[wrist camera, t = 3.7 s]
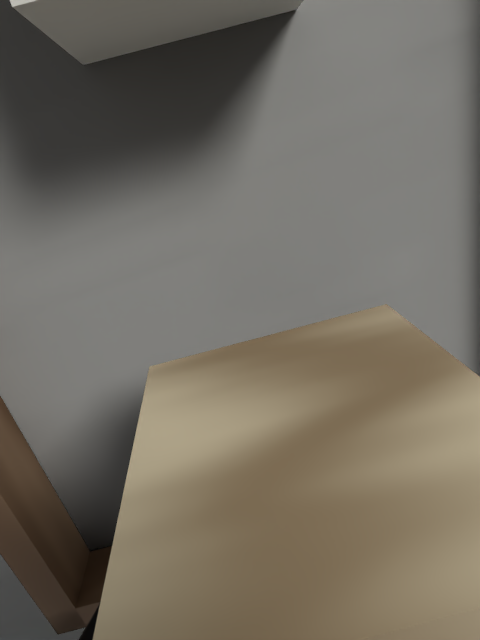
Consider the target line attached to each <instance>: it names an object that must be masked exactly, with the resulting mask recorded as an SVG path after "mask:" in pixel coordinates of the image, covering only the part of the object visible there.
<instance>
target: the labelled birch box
mask: <svg viewBox="0 0 480 640" xmlns="http://www.w3.org/2000/svg"><path fill="white" fill-rule="evenodd" d="M93 640H480V377H479V376H478V375H477V374H475V373H474V372H473V371H472V370H470V369H469V368H468V367H466V366H465V365H464V364H463V363H461V362H460V361H459V360H457V359H456V358H455V357H454V356H452V355H451V354H450V353H449V352H447V351H446V350H445V349H443V348H442V347H441V346H440V345H438V344H437V343H436V342H434V341H433V340H432V339H431V338H429V337H428V336H427V335H425V334H424V333H423V332H422V331H420V330H419V329H418V328H416V327H415V326H414V325H413V324H411V323H410V322H409V321H407V320H406V319H405V318H404V317H402V316H401V315H400V314H398V313H397V312H396V311H395V310H393V309H392V308H391V307H389V306H388V305H387V304H385V305H382V306H378V307H374V308H370V309H366V310H363V311H359V312H355V313H351V314H347V315H344V316H340V317H336V318H332V319H328V320H325V321H321V322H317V323H313V324H309V325H306V326H302V327H298V328H294V329H290V330H287V331H283V332H279V333H275V334H271V335H268V336H264V337H260V338H256V339H252V340H249V341H245V342H241V343H237V344H233V345H230V346H226V347H222V348H218V349H215V350H211V351H207V352H203V353H199V354H196V355H192V356H188V357H184V358H180V359H177V360H173V361H169V362H165V363H161V364H158V365H154V366H150V367H149V372H148V377H147V381H146V386H145V391H144V396H143V401H142V405H141V410H140V415H139V420H138V425H137V429H136V434H135V439H134V444H133V448H132V453H131V458H130V463H129V468H128V472H127V477H126V482H125V487H124V492H123V496H122V501H121V506H120V511H119V516H118V520H117V525H116V530H115V535H114V540H113V544H112V549H111V554H110V559H109V564H108V568H107V573H106V578H105V583H104V587H103V592H102V597H101V602H100V607H99V611H98V616H97V621H96V626H95V631H94V635H93Z"/></svg>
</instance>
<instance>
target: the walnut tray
mask: <svg viewBox="0 0 480 640" xmlns="http://www.w3.org/2000/svg"><path fill="white" fill-rule="evenodd" d="M111 549H112V546H110V547H106V548H102V549H98V550H95V551H91V552H90V551H89V549H88V547H87V546H86V544H85V542H84V540H83V539H82V537H81V535H80V533H79V532H78V530H77V528H76V526H75V525H74V523H73V521H72V519H71V518H70V516H69V514H68V513H67V511H66V509H65V507H64V506H63V504H62V502H61V500H60V499H59V497H58V495H57V493H56V492H55V490H54V488H53V487H52V485H51V483H50V481H49V480H48V478H47V476H46V474H45V473H44V471H43V469H42V467H41V466H40V464H39V462H38V460H37V459H36V457H35V455H34V454H33V452H32V450H31V448H30V447H29V445H28V443H27V441H26V440H25V438H24V436H23V434H22V433H21V431H20V429H19V428H18V426H17V424H16V422H15V421H14V419H13V417H12V415H11V414H10V412H9V410H8V408H7V407H6V405H5V403H4V401H3V400H2V398H1V396H0V554H1V555H2V557H3V558H4V560H5V561H6V562H7V564H8V565H9V567H10V568H11V569H12V571H13V572H14V574H15V575H16V576H17V578H18V579H19V581H20V582H21V583H22V585H23V586H24V588H25V589H26V590H27V592H28V593H29V595H30V596H31V597H32V599H33V600H34V602H35V603H36V605H37V606H38V607H39V609H40V610H41V612H42V613H43V614H44V616H45V617H46V619H47V620H48V621H49V623H50V624H51V626H52V627H53V628H54V630H55V631H56V633H57V634H62V633H65V632H69V631H73V630H77V629H80V628H84V627H86V626H87V624H88V623H89V621H90V619H91V617H92V616H93V614H94V612H95V610H96V609H97V607H98V605H99V603H100V602H101V597H102V592H103V587H104V583H105V578H106V573H107V568H108V564H109V559H110V554H111Z"/></svg>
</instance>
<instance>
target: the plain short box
mask: <svg viewBox="0 0 480 640" xmlns="http://www.w3.org/2000/svg"><path fill="white" fill-rule="evenodd" d="M302 1H303V0H10V3H11V5H12V7H13V8H14V9H15V10H16V11H18V12H19V13H20V14H21V15H23V16H24V17H25V18H26V19H27V20H29V21H30V22H31V23H32V24H34V25H35V26H36V27H37V28H39V29H40V30H41V31H42V32H43V33H45V34H46V35H47V36H48V37H50V38H51V39H52V40H53V41H54V42H56V43H57V44H58V45H59V46H61V47H62V48H63V49H64V50H65V51H67V52H68V53H69V54H70V55H72V56H73V57H74V58H75V59H76V60H78V61H79V62H80V63H81V64H83V65H86V64H89V63H93V62H97V61H101V60H105V59H109V58H112V57H116V56H120V55H124V54H128V53H132V52H136V51H139V50H143V49H147V48H151V47H155V46H159V45H162V44H166V43H170V42H174V41H178V40H182V39H185V38H189V37H193V36H197V35H201V34H205V33H208V32H212V31H216V30H220V29H224V28H228V27H232V26H235V25H239V24H243V23H247V22H251V21H255V20H258V19H262V18H266V17H270V16H274V15H278V14H281V13H285V12H289V11H293V10H297V8H298V7H299V6H300V4H301V3H302Z"/></svg>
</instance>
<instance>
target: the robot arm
mask: <svg viewBox="0 0 480 640" xmlns="http://www.w3.org/2000/svg"><path fill="white" fill-rule="evenodd" d="M99 607H100V603H99V605H98V607H97V609H96V610H95V612H94V614H93V616H92V617H91V619H90V621H89V623H88V624H87V626H86V628H85V630H84V631H83V633H82V635H81V637H80V638H79V640H93V635H94V631H95V626H96V621H97V616H98V611H99Z"/></svg>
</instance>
